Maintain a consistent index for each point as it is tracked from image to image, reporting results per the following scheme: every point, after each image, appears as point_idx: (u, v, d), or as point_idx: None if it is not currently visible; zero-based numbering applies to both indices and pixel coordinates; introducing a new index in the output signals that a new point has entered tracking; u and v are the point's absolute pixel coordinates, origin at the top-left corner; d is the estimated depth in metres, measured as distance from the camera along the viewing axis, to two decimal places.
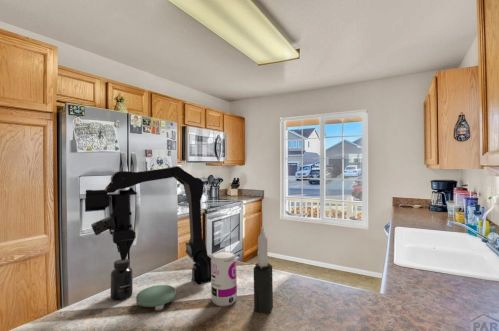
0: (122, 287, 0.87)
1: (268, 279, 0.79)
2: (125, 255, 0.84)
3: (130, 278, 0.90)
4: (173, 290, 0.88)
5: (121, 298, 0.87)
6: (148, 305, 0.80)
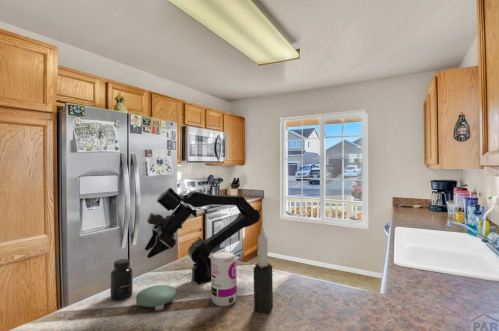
0: (122, 287, 0.87)
1: (268, 279, 0.79)
2: (152, 255, 0.90)
3: (130, 278, 0.90)
4: (173, 290, 0.88)
5: (121, 298, 0.87)
6: (148, 305, 0.80)
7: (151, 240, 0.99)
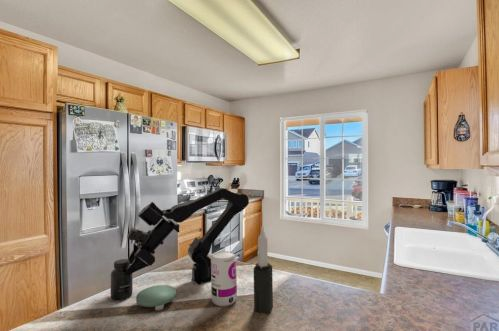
0: (122, 287, 0.87)
1: (268, 279, 0.79)
2: (130, 272, 0.87)
3: (130, 278, 0.90)
4: (173, 290, 0.88)
5: (121, 298, 0.87)
6: (148, 305, 0.80)
7: (131, 255, 0.96)
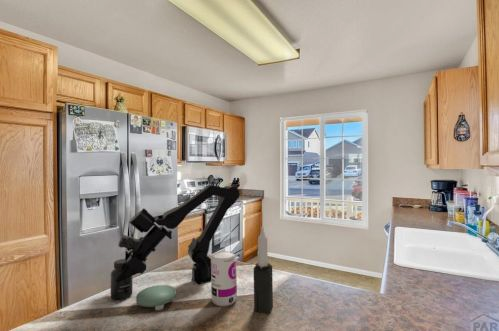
0: (122, 287, 0.87)
1: (268, 279, 0.79)
2: (121, 279, 0.87)
3: (130, 278, 0.90)
4: (173, 290, 0.88)
5: (121, 298, 0.87)
6: (148, 305, 0.80)
7: None
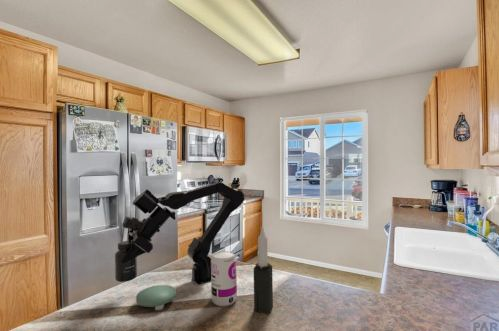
0: (128, 268, 0.86)
1: (268, 279, 0.79)
2: (127, 260, 0.86)
3: (135, 259, 0.89)
4: (173, 290, 0.88)
5: (127, 279, 0.86)
6: (148, 305, 0.80)
7: None
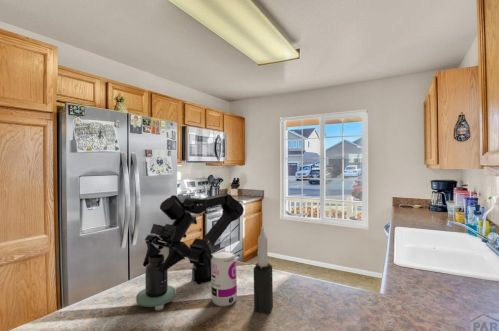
0: (163, 282, 0.84)
1: (268, 279, 0.78)
2: (166, 269, 0.83)
3: (167, 272, 0.87)
4: (173, 290, 0.88)
5: (162, 293, 0.84)
6: (148, 305, 0.80)
7: (149, 254, 0.89)
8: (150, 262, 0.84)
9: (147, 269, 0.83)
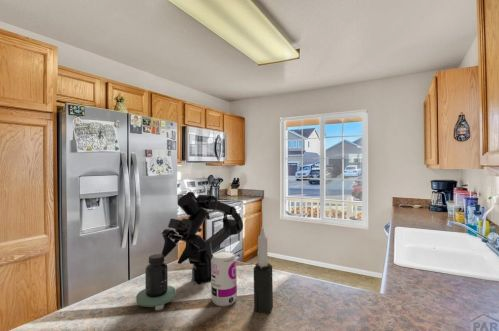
0: (163, 282, 0.84)
1: (268, 279, 0.79)
2: (183, 260, 0.88)
3: (167, 272, 0.87)
4: (173, 290, 0.88)
5: (162, 293, 0.84)
6: (148, 305, 0.80)
7: (166, 247, 0.95)
8: (150, 262, 0.84)
9: (147, 269, 0.83)
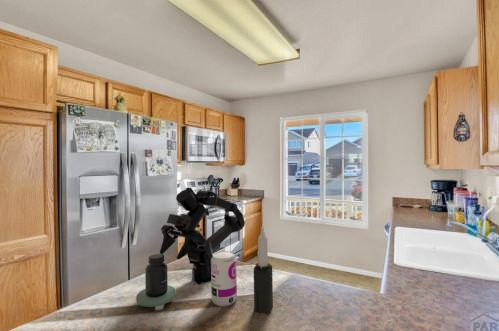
0: (163, 282, 0.84)
1: (268, 279, 0.79)
2: (182, 256, 0.88)
3: (167, 272, 0.87)
4: (173, 290, 0.88)
5: (162, 293, 0.84)
6: (148, 305, 0.80)
7: (165, 243, 0.94)
8: (150, 262, 0.84)
9: (147, 269, 0.83)
